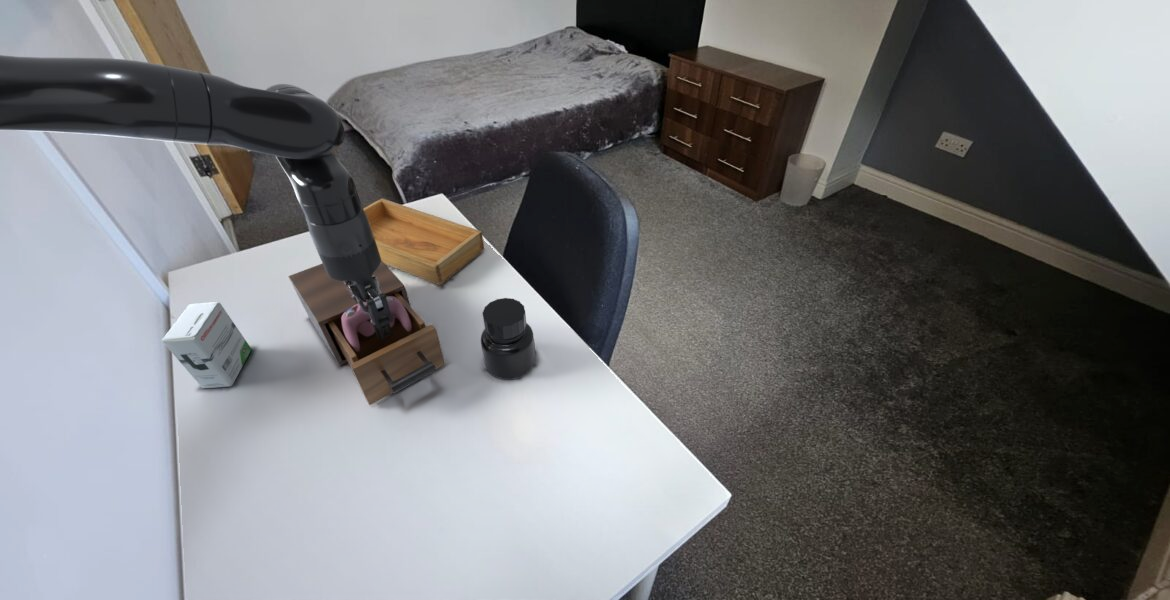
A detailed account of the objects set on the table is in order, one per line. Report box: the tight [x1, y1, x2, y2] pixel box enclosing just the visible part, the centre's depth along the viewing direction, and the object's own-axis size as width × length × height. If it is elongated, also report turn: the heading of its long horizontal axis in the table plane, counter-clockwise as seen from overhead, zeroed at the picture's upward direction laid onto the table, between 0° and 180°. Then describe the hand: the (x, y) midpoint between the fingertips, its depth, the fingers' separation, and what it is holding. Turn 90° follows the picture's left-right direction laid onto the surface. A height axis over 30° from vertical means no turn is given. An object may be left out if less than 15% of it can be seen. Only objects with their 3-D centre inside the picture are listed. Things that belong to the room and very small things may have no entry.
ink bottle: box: [480, 297, 536, 380], centre depth 79 cm, size 10×9×12 cm
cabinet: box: [288, 260, 412, 367], centre depth 86 cm, size 16×15×11 cm
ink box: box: [161, 301, 252, 389], centre depth 77 cm, size 9×5×12 cm, turn 6°
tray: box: [363, 198, 485, 286], centre depth 106 cm, size 31×15×6 cm, turn 62°
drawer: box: [327, 292, 446, 406], centre depth 78 cm, size 19×13×9 cm
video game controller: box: [341, 296, 412, 352], centre depth 76 cm, size 10×5×7 cm, turn 124°
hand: (377, 325), depth 77 cm, fingers closed on video game controller, 6 cm apart
